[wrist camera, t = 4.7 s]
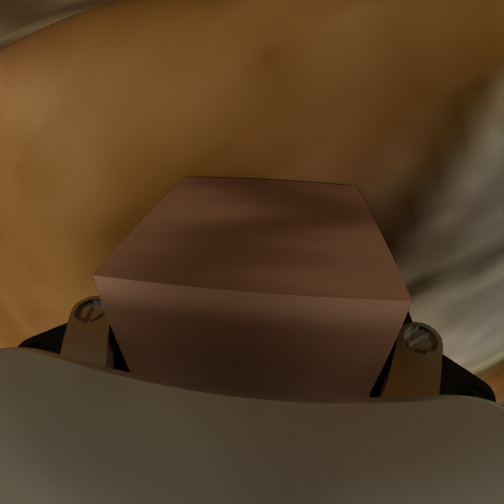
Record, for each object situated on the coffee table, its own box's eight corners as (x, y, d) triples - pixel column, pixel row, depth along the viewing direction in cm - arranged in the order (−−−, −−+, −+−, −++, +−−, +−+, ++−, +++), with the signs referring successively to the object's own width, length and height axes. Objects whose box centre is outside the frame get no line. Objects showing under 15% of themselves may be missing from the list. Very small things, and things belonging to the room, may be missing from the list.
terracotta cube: (356, 186, 10) (411, 300, 5) (331, 317, 13) (340, 442, 8) (183, 177, 11) (92, 275, 5) (197, 306, 14) (155, 422, 9)
